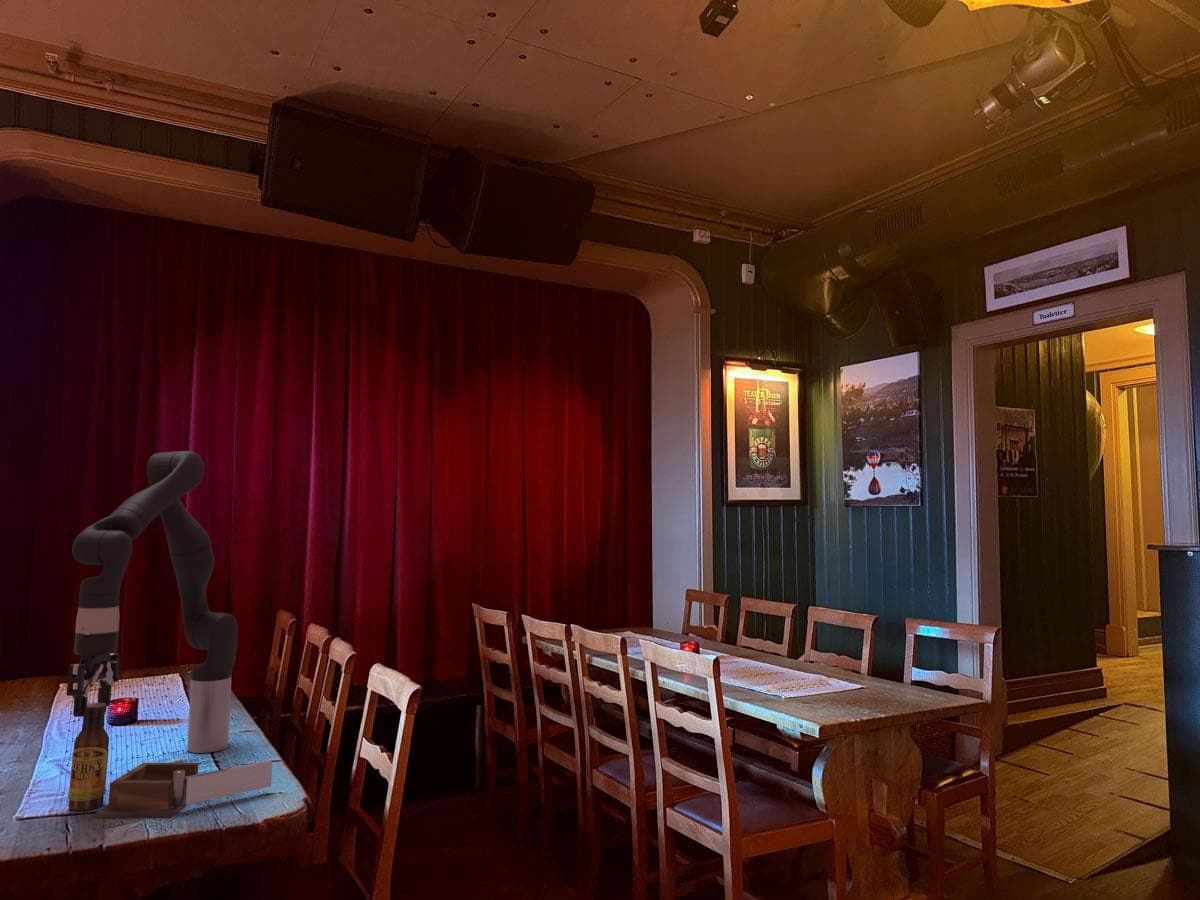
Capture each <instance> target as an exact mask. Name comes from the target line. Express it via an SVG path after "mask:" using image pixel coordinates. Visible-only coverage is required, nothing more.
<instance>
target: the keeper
mask: <svg viewBox="0 0 1200 900" xmlns="http://www.w3.org/2000/svg"><path fill="white" fill-rule="evenodd" d="M272 774H273V761H271V760H270V759H268V760H264V761H258V762H253V763H247V764H244V765H238V766H233V767H229V768H228V767H227V768H224V769H219V770H213V771H208V772H203V773H198V774H197V775H192V776H187V777H185V770H176V771H174V774H173V793H172V807H180V806H183V800H184V804H185V805H186V806H187V805H191V804H196V803H197V804H198V803H200V802H205V801H211V800H214V799H218V798H223V797H229V796H234V795H237V794H242V793H247V792H250V791H256V790H261V789H264V788H265V789H266V788H269V787H272V777H273V775H272ZM184 781H185V784H184Z"/></svg>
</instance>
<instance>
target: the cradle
mask: <svg viewBox="0 0 1200 900" xmlns="http://www.w3.org/2000/svg"><path fill="white" fill-rule="evenodd" d="M176 770H185V777H187V776H192V775H197V774H199V762H142V763H141V764H139V765H137V766H135V767H134V768H132V769H131V770H129V771H127V772H126V773H124V774H122V775H121V776H118V777H117V778H116V779H114V780H112V781H110V783H109V795H108V804H107V805H105V806H104V807H102V808H101V809H99V810H98V811H96V812H95V819H96V818H97V819H105V818H106V819H114V818H115V819H121V818H122V819H125V818H127V819H128V818H131V819H134V818H136V819H138V818H139V819H141V818H142V819H144V818H147V819H148V818H156V819H159V818H166V819H167V818H168V819H169V818H172V817H173V816H174V815H175V814H177V813H178V812H179V811H181V810H182V809H183V808H184V807H186V806H187V805H185V804H184V800H183V806H180V807H172V793H173V774H174V771H176ZM184 784H185V781H184Z"/></svg>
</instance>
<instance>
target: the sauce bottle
mask: <svg viewBox="0 0 1200 900" xmlns="http://www.w3.org/2000/svg"><path fill="white" fill-rule="evenodd" d="M107 707H108V706H107V705H106V704H105V703H98V702H93V703H87V714H86V716H83V717H82V725H81V730H80V732H79V733H78V735H77V736H76V737H75V739H74V743H73V751H72V755H71V757H72V758H71V765H70V766H71V769H70V779H69V788H68V798H67V799H68V806H67V807H68V808H69V809H70V810H72V811H88V810H93V809H96V808H99V807H100V806H102V805H103V804H104V796H105V794H106V786H107V783H106V782H107V772H108V763H109V753H110V749H109V745H110V737H109V735H108V732H106V729H105V716H106V712H107Z"/></svg>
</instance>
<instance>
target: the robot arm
mask: <svg viewBox="0 0 1200 900" xmlns="http://www.w3.org/2000/svg"><path fill="white" fill-rule="evenodd" d="M146 471H147V479H148V483H149V486H148V487H146V488H144V489H143V490H140V491H139V492H136V493H135V494H133V495H132V496H129V497H128V498H127V499H125V500H124V501H123V502H122V503H121V504H120V505H119V506H118V507H117V508H115V510H113V512H112V513H111V514H110V515H107V516H106V517H103V518H102V519H100V520H98V521H97V522H95V523H92V524H91V525H89V526H88V527H86V528H84V529H82V531H80V533H79V534H78V535H77V536H76V538H75V539H74V540H73V544H72V546H71V547H72V549H71V552H72V553H71V554H72V556H73V558H74V560H75V561H77V562H79V563H80V564H83V565H89V566H103V568H102V570H101V572H100V574H99V575H96V576H92V577H91V576H90V577H87V578H84V579H83V580H82V581H81V583H80V587H79V599H78V609H77V610H78V611H77V615H76V619H75V620H76V621H75V631H74V632H75V634H74V635H75V636H74V650H73V653H74V654H75V655H77V656H80V661H79V663H71V664H69V666H68V677H67V686H66V696H68V697H69V696H70V697H72V698H73V699H74V700H73V709H72V711H73V712H72V715H73V717H75V718H83V716H86V714H87V704H88V700H89V699H88V695H89V693H90V690H91V688H92V687H94V686H95V684H96V683H97V685H98V687H99V688H98V691H97V693H98V694H97V703H105V704H106V705H107V707H108V706H110V705H111V702H112V701H111V699H112V698H111V697H112V688H113V687H114V685H115V683H117V682H119V680H120V679H119V678H120V653H119V652H117V651H118V650H119V649H118V648H119V632H120V619H121V618H120V597H121V595H120V594H121V586H122V582H123V579H124V577H125V574H126V570H127V567H128V565H129V563H130V560H131V557H132V554H133V551H134V550H133V549H134V547H133V545H134V544H133V540H134V539H136V538H138V537H139V536H140V535H141V534H142V533H143V531H145V530H146V528H148V526H149V525H150V524H151V523H152V522H153V521H154V520H155V519H156V518H158V516H159V515H160V518H161V520H162V521H161V522H162V525H163V528H164V532H165V536H166V542H167V545H168V552H169V555H170V559H171V563H172V568H173V572H174V575H175V579H176V584H177V588H178V593H179V598H180V602H181V603H180V604H181V613H182V622H183V627H184V628H183V631H184V634H185V639H186V641H187V643H188V644H189V646H190V647H191V648H194V649H197V650H206V651H207V654H206V655H207V656H206V660H205V661H204V662H202V663H199V664H196V665H194V666H193V667H192V668H191V669H190V670H191V671H190V686H189V707H188V708H189V709H188V723H187V724H188V728H187V729H188V731H187V747H186V748H187V752H190V753H194V754H196V753H197V754H206V753H207V754H208V753H215V752H218V751H222V750H224V749H227V748H228V747H229V737H230V736H229V735H230V717H231V716H230V715H231V696H232V695H231V693H232V673H233V668H234V666H235V663H236V657H237V649H238V639H239V637H238V636H239V626H238V625H239V624H238V621H237V619H236V617H235V616H234V615H233V614H230V613H227V612H226V613H225V612H212V611H211V610H210V608H209V603H208V600H207V588H208V587H207V586H208V584H209V581H210V579H211V576H212V574H213V571H214V566H215V556H214V551H213V546H212V542H211V539H210V538H211V537H210V535H209V534H208V532H207V530H206V529H205V528H204V527H203V526H202V525H201V524H200V522H198V520H196V519H195V518H194V517H193V516H192V515H191V513H189V511H188V510H187V509H186V507H185V505H184V504H183V501H182V500H181V499H182V497H184V496H185V495H187V494H188V493H189V492H191V491H192V490H194V489H195V488H197V486H198V487H199V485H200V484H201V482H202V481H203V479H204V475H205V464H204V461H203V459H202V457H201V456H200V455H199V454H198V453H197V452H194V451H191V450H190V451H189V450H179V451H167V452H166V451H165V452H157V453H154V454H152V455H151V456H150V457H149V458H148V461H147V463H146ZM74 685H75V686H74Z"/></svg>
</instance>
